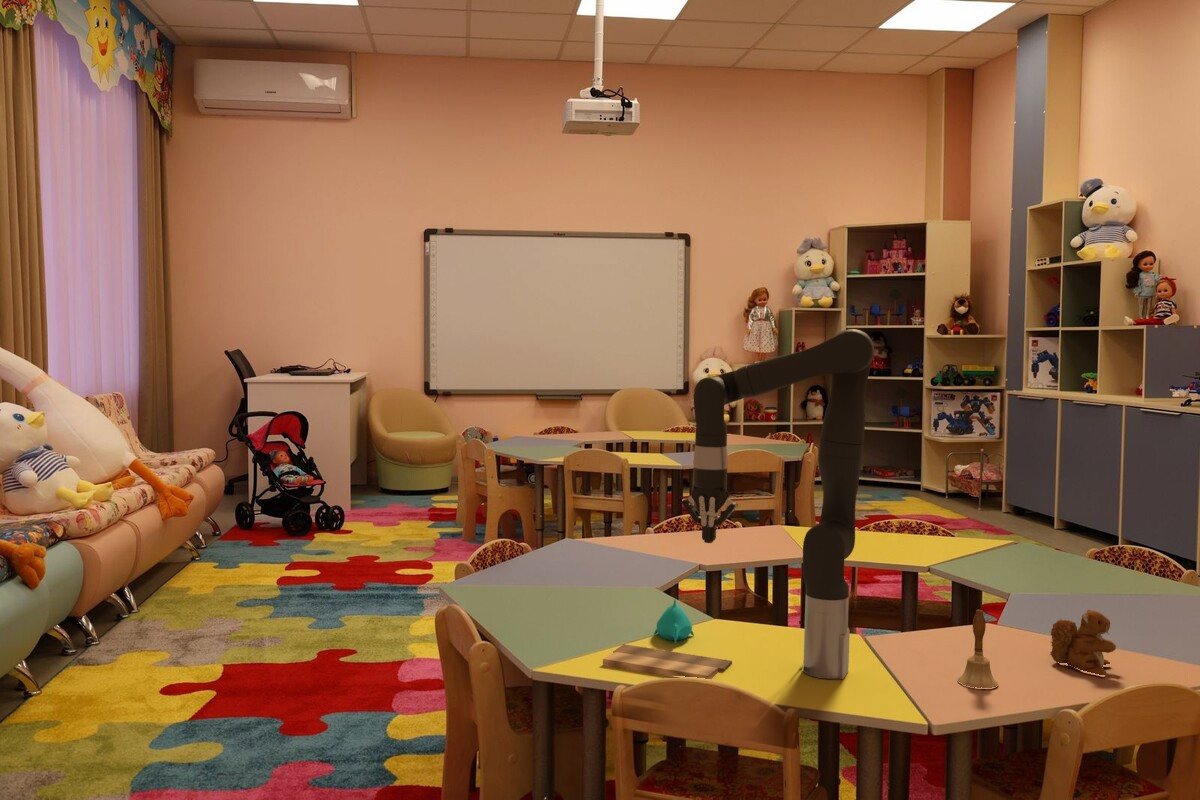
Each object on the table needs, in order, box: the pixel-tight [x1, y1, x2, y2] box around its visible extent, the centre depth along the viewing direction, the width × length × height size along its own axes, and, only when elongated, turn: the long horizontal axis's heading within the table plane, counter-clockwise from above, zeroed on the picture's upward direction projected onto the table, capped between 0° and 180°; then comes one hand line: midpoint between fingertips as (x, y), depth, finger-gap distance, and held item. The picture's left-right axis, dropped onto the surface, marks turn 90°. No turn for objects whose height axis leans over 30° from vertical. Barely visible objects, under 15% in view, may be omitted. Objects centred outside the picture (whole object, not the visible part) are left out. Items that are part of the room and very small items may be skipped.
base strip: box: [612, 644, 733, 673], centre depth 227 cm, size 26×6×2 cm, turn 66°
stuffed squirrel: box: [1049, 609, 1117, 676], centre depth 230 cm, size 10×14×13 cm
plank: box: [602, 652, 719, 680], centre depth 221 cm, size 24×7×2 cm, turn 66°
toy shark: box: [653, 598, 695, 644], centre depth 243 cm, size 10×18×11 cm, turn 178°
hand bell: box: [957, 609, 999, 688], centre depth 217 cm, size 8×8×16 cm
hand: (708, 542), depth 229 cm, fingers closed
